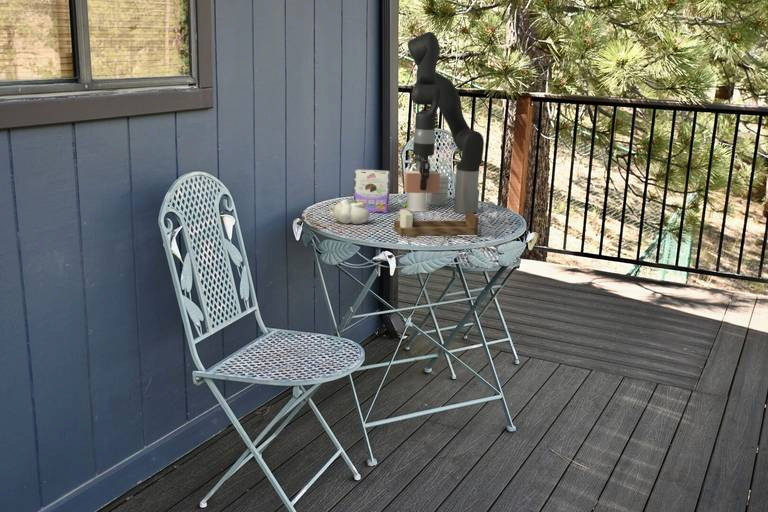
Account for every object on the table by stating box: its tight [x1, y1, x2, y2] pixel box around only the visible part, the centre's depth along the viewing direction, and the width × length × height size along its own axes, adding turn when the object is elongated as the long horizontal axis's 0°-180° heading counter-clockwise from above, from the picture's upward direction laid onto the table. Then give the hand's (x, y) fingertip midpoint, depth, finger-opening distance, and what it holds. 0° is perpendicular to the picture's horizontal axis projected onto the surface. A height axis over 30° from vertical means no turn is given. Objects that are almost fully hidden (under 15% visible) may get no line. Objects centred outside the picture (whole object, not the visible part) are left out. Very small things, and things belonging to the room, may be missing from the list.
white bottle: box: [406, 169, 429, 213], centre depth 328 cm, size 10×9×20 cm
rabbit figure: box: [395, 202, 413, 217], centre depth 314 cm, size 6×6×15 cm
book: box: [403, 170, 440, 194], centre depth 293 cm, size 12×4×7 cm, turn 99°
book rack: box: [393, 211, 480, 238], centre depth 291 cm, size 28×12×7 cm, turn 101°
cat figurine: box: [328, 198, 371, 225], centre depth 300 cm, size 10×8×15 cm
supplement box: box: [428, 172, 449, 206], centre depth 343 cm, size 7×7×13 cm
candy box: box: [353, 168, 391, 214], centre depth 322 cm, size 14×6×16 cm, turn 84°
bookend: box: [399, 210, 414, 228], centre depth 289 cm, size 2×9×6 cm, turn 11°
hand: (421, 188), depth 294 cm, fingers closed on book, 4 cm apart
